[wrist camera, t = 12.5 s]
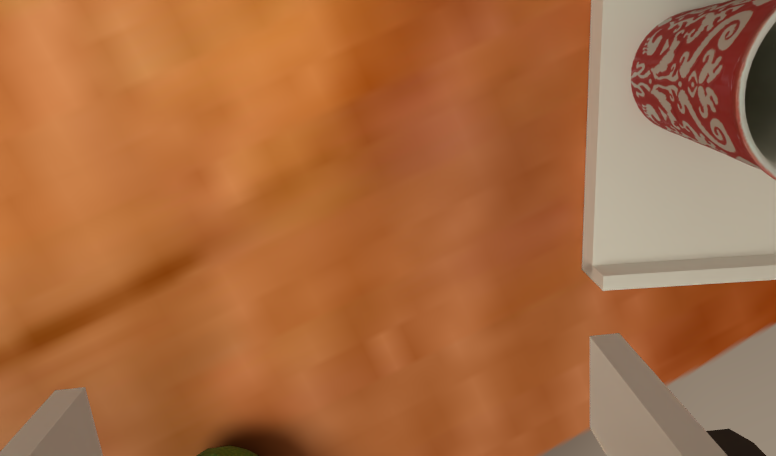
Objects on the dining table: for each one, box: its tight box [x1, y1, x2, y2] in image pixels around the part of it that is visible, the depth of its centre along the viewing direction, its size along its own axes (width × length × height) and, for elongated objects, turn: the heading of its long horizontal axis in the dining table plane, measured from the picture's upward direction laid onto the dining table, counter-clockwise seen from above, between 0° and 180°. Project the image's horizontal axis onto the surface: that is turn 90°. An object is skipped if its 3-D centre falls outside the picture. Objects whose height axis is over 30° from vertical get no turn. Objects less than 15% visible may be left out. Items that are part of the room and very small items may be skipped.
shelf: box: [582, 0, 776, 291], centre depth 39 cm, size 24×15×4 cm, turn 3°
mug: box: [631, 0, 776, 180], centre depth 32 cm, size 13×9×14 cm
